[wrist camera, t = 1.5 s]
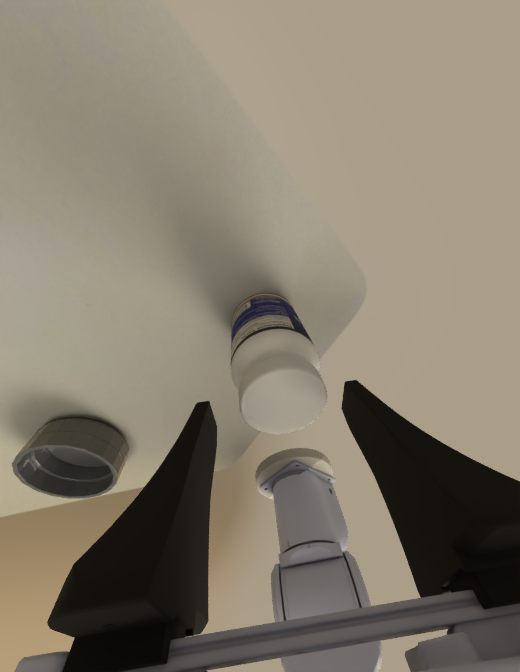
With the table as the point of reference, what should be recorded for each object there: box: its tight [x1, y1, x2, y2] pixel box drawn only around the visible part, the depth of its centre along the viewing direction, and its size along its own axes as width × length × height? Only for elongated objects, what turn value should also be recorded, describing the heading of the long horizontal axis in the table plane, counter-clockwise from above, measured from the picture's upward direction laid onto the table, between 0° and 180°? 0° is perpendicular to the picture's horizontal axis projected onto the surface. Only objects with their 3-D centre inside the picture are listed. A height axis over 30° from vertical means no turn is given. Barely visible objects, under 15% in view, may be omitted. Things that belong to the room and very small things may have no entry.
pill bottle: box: [231, 294, 327, 434], centre depth 16 cm, size 6×6×10 cm
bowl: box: [12, 418, 129, 498], centre depth 25 cm, size 9×9×4 cm
